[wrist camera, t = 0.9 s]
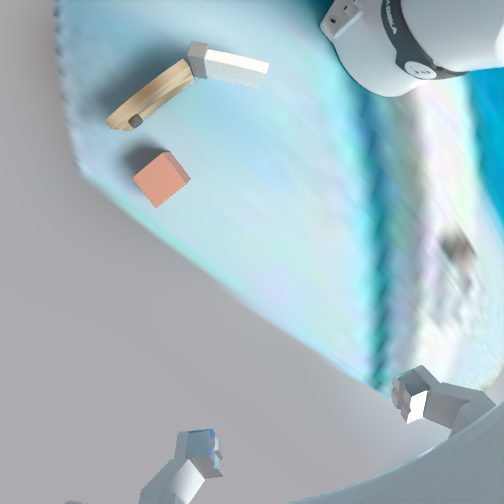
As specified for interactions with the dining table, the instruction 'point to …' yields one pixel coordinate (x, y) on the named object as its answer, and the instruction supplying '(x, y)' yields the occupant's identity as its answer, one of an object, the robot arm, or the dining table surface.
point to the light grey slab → (225, 66)
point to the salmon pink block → (161, 178)
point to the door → (151, 97)
